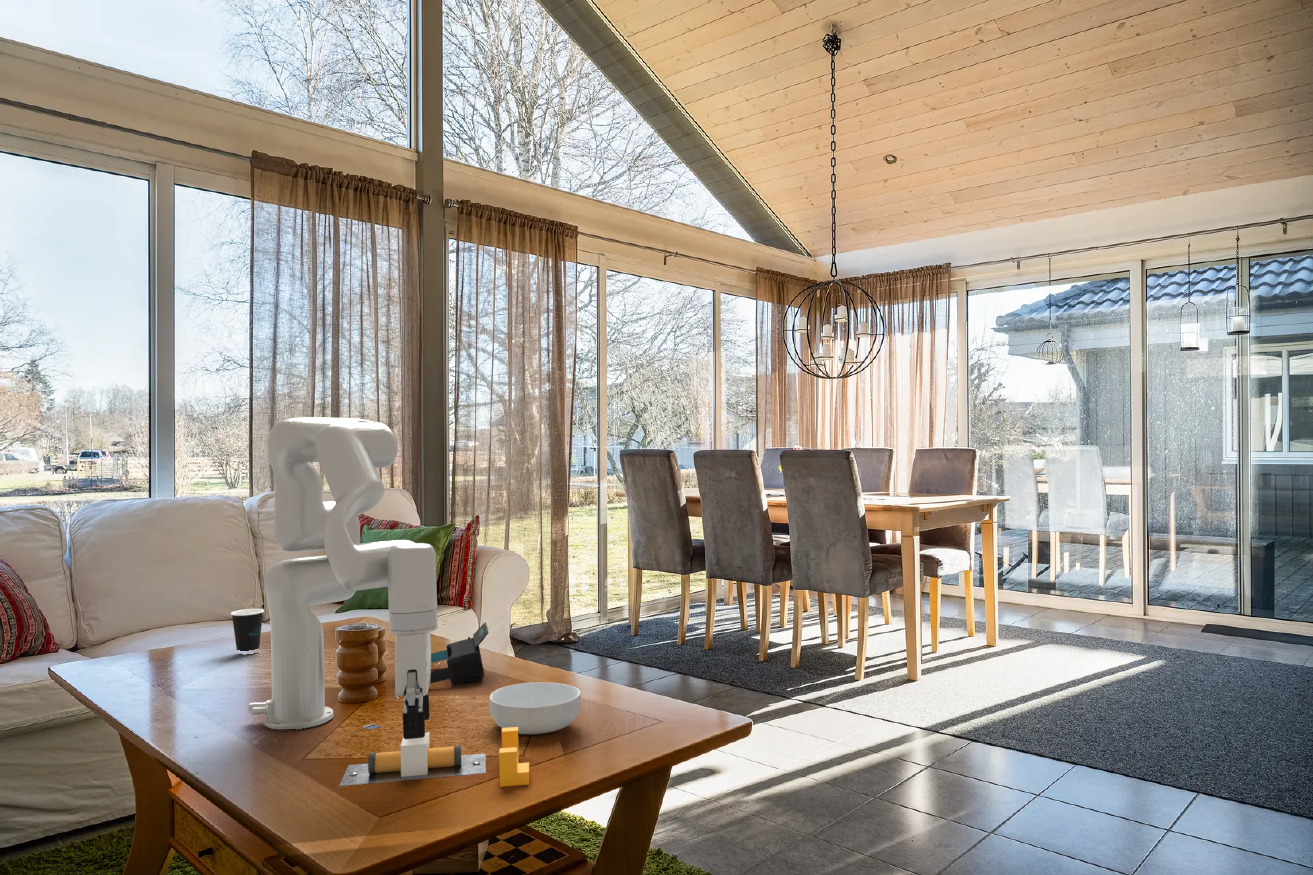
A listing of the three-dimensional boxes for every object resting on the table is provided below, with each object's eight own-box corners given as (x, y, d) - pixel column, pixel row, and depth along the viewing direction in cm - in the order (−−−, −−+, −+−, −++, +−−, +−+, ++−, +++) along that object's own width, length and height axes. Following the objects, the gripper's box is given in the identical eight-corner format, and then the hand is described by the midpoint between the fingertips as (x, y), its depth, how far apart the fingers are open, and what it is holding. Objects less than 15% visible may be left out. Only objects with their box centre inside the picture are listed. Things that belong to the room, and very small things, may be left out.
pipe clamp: (529, 793, 133) (528, 750, 133) (500, 795, 133) (499, 752, 133) (529, 765, 145) (528, 726, 145) (503, 767, 145) (502, 728, 145)
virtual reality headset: (497, 678, 197) (489, 635, 196) (397, 703, 192) (388, 658, 191) (492, 658, 215) (485, 618, 214) (401, 680, 210) (393, 640, 209)
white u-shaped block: (401, 776, 138) (400, 746, 138) (404, 763, 143) (404, 734, 143) (427, 774, 138) (426, 743, 138) (429, 761, 144) (429, 732, 144)
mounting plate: (339, 794, 134) (339, 784, 134) (348, 772, 143) (348, 764, 143) (485, 780, 138) (485, 771, 138) (486, 760, 147) (485, 752, 147)
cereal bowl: (555, 751, 151) (554, 710, 151) (472, 742, 157) (471, 702, 157) (596, 721, 167) (595, 684, 167) (518, 714, 173) (518, 678, 173)
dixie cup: (260, 655, 228) (260, 613, 229) (227, 657, 227) (227, 615, 227) (267, 649, 236) (266, 607, 236) (235, 651, 235) (235, 609, 235)
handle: (368, 776, 138) (367, 756, 138) (370, 769, 141) (370, 750, 141) (460, 768, 141) (460, 749, 141) (461, 761, 144) (461, 742, 144)
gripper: (395, 614, 149) (398, 716, 148) (382, 633, 132) (386, 748, 131) (440, 611, 150) (443, 712, 150) (434, 629, 133) (437, 743, 133)
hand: (416, 728), depth 140 cm, fingers open, 9 cm apart
